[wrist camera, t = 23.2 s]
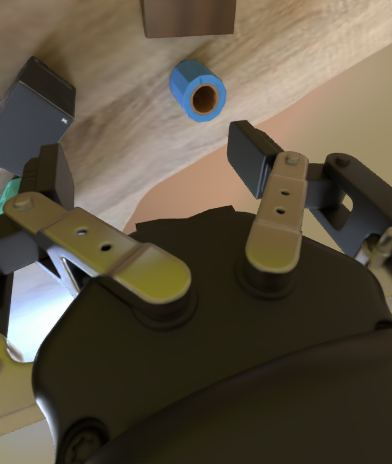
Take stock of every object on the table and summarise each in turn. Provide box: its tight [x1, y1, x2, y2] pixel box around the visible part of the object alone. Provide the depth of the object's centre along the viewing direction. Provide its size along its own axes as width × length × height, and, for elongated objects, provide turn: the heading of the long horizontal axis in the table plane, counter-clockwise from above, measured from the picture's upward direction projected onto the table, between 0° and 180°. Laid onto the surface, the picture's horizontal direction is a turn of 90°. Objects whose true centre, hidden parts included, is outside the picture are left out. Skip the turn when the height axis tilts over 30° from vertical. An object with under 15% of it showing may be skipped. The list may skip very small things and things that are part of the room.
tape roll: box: [170, 59, 226, 122], centre depth 40 cm, size 6×6×8 cm
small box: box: [0, 56, 76, 178], centre depth 35 cm, size 11×6×10 cm, turn 132°
